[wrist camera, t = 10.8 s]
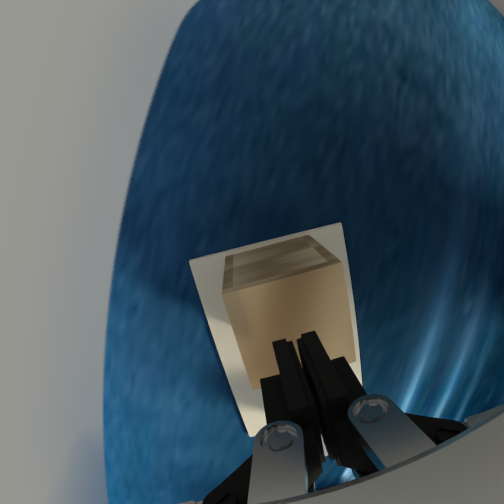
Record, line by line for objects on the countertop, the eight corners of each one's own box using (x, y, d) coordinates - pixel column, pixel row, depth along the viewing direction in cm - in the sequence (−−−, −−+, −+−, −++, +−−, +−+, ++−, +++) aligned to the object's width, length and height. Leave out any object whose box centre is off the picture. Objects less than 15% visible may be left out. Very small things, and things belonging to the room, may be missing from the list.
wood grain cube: (308, 234, 20) (342, 262, 14) (323, 310, 21) (356, 361, 15) (225, 256, 20) (221, 294, 14) (247, 330, 21) (252, 390, 15)
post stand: (339, 222, 20) (376, 240, 15) (361, 404, 24) (385, 449, 19) (189, 259, 20) (173, 291, 15) (249, 433, 24) (253, 484, 19)
